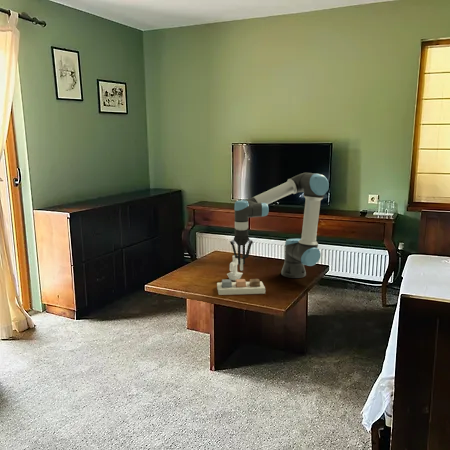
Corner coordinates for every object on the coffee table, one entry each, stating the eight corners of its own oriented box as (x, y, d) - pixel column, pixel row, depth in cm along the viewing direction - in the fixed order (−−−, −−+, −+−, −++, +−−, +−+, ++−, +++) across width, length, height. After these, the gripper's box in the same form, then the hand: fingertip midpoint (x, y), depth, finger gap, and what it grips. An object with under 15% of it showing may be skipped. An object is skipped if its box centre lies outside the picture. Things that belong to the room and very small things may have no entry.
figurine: (225, 280, 269) (225, 256, 266) (234, 276, 277) (234, 253, 274) (235, 282, 265) (235, 258, 262) (244, 278, 273) (244, 254, 270)
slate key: (230, 286, 253) (230, 279, 252) (231, 289, 248) (231, 282, 248) (221, 286, 253) (221, 279, 252) (222, 289, 248) (222, 282, 247)
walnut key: (258, 285, 255) (258, 278, 254) (259, 288, 250) (259, 281, 249) (249, 285, 254) (249, 279, 253) (251, 288, 249) (251, 281, 249)
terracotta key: (244, 285, 254) (244, 279, 253) (245, 288, 249) (245, 281, 248) (235, 285, 253) (235, 279, 253) (236, 288, 249) (236, 282, 248)
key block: (261, 286, 259) (261, 281, 258) (265, 293, 247) (265, 288, 246) (217, 287, 256) (217, 282, 256) (218, 294, 245) (218, 289, 244)
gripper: (252, 227, 249) (251, 267, 254) (228, 227, 248) (229, 268, 252) (254, 229, 241) (253, 271, 246) (230, 230, 240) (230, 272, 245)
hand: (241, 269), depth 249 cm, fingers closed
